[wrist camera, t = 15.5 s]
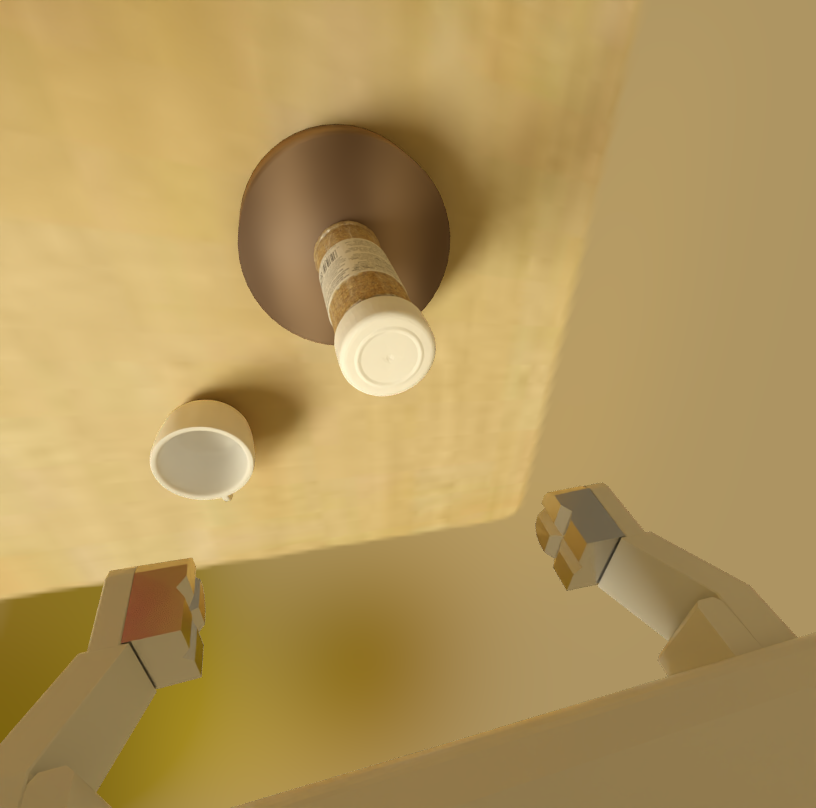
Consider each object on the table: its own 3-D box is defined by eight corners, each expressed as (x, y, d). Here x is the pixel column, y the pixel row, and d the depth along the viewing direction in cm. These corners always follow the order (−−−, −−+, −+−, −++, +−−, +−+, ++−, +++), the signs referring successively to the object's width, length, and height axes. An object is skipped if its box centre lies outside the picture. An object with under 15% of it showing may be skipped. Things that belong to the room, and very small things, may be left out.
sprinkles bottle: (352, 297, 34) (393, 414, 24) (298, 259, 32) (318, 371, 22) (394, 246, 33) (458, 348, 23) (341, 202, 30) (385, 293, 20)
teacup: (143, 397, 40) (130, 440, 36) (239, 376, 41) (237, 416, 36) (190, 480, 46) (183, 525, 42) (272, 460, 47) (273, 503, 43)
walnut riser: (255, 327, 38) (255, 353, 35) (222, 122, 30) (218, 133, 27) (427, 314, 41) (441, 337, 38) (441, 125, 33) (460, 135, 30)
